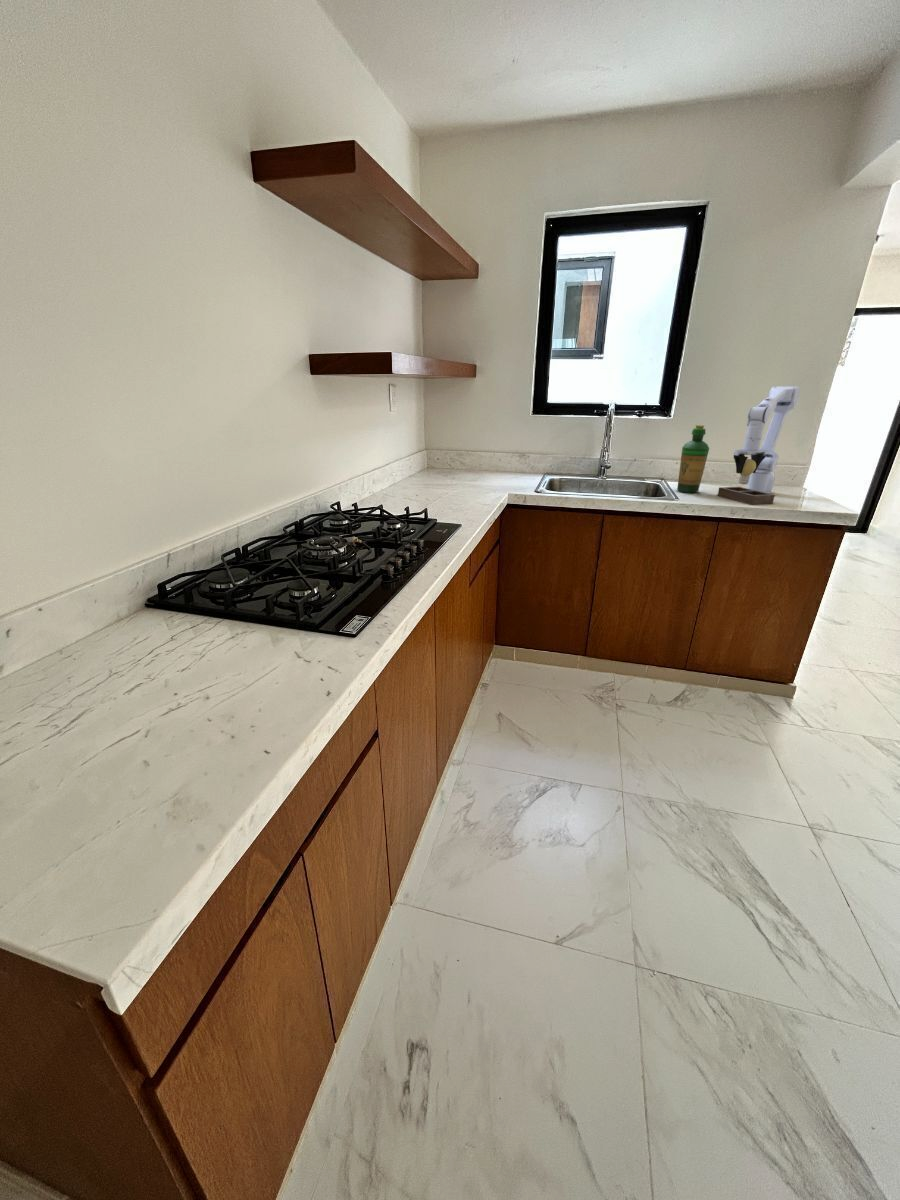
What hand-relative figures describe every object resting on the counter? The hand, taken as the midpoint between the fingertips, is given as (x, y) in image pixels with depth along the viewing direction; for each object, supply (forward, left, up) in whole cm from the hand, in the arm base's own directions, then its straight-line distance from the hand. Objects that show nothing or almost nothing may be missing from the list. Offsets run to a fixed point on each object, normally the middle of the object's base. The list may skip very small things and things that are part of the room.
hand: (745, 472), depth 207 cm
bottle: (+13, -17, -11) cm, 23 cm away
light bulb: (0, 0, -5) cm, 5 cm away
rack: (+1, +3, -10) cm, 11 cm away
